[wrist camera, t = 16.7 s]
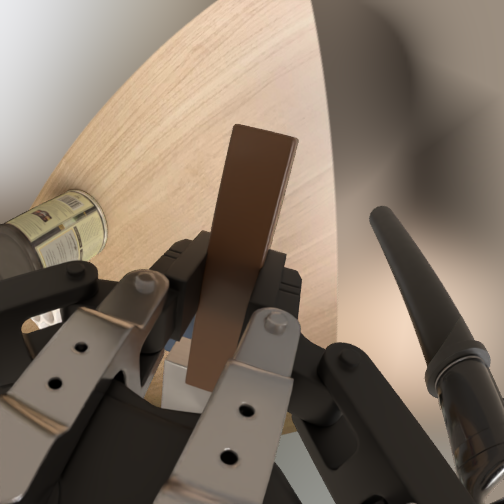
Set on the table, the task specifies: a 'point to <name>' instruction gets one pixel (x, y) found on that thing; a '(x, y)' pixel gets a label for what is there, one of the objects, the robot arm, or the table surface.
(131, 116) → the table surface
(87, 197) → the coffee can
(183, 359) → the brown and grey bar
